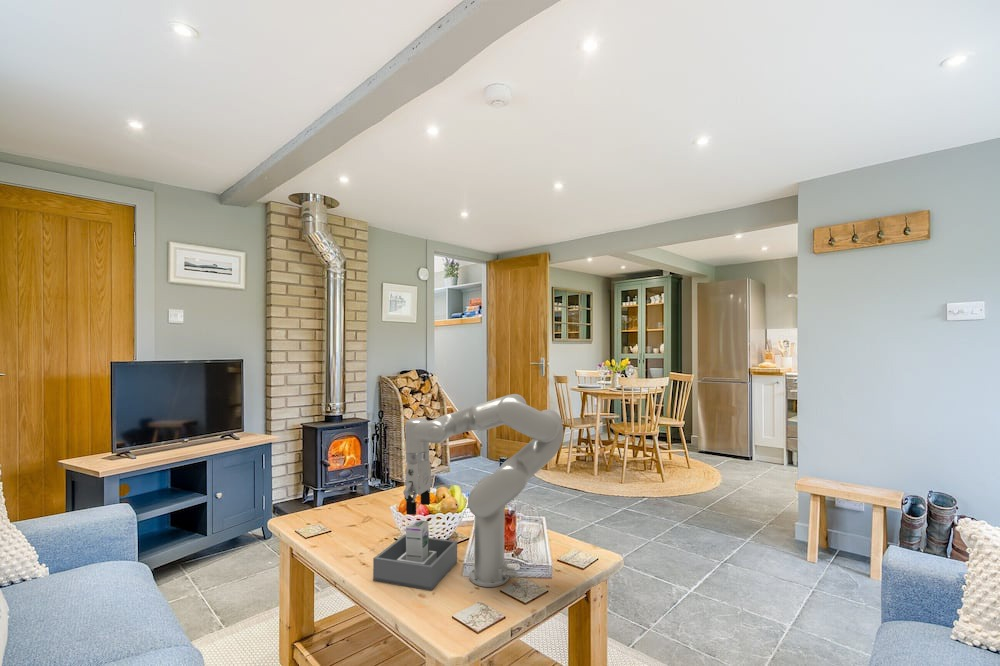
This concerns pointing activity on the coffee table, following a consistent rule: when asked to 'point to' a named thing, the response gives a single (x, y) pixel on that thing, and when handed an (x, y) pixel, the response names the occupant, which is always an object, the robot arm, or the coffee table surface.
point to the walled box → (415, 564)
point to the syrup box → (417, 541)
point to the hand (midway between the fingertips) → (418, 509)
